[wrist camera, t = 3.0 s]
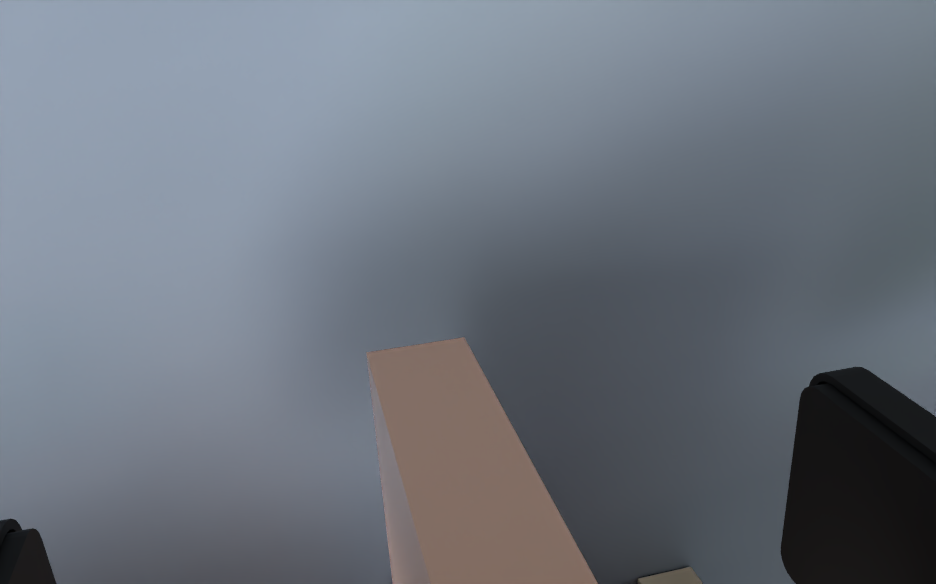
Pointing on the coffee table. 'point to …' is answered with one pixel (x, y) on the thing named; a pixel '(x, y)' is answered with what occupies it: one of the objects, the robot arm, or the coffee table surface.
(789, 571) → the robot arm
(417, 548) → the peach cylinder
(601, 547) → the coffee table surface
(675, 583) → the holder
